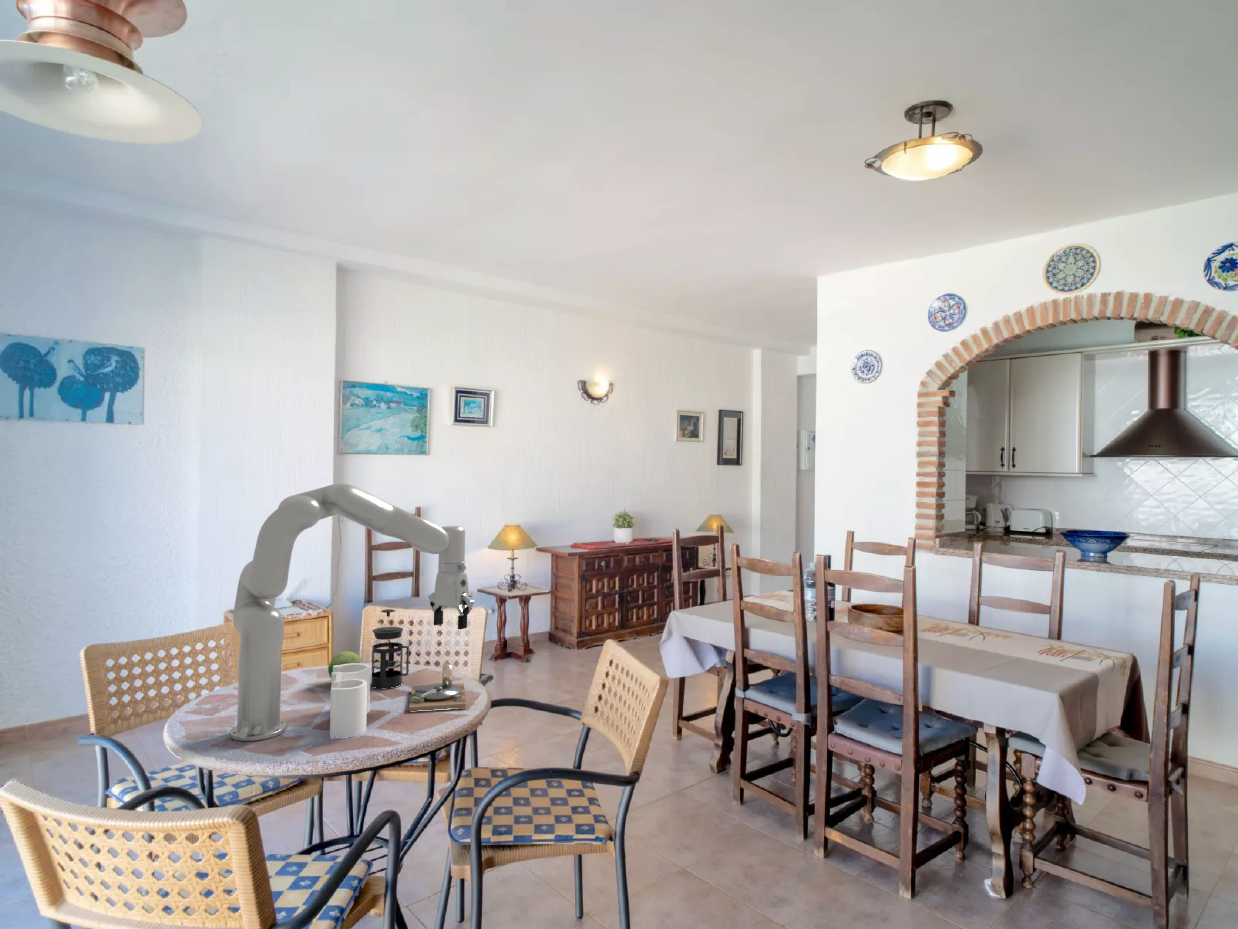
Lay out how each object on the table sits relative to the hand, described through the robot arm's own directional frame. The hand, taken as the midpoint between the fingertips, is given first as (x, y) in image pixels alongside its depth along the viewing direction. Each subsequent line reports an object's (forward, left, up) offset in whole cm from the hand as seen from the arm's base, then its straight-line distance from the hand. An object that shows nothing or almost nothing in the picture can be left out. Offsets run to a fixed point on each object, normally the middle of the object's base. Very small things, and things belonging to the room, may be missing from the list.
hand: (450, 626), depth 207 cm
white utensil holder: (-17, +25, -21) cm, 37 cm away
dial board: (-3, +3, -20) cm, 21 cm away
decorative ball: (+18, +31, -20) cm, 41 cm away
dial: (-3, +3, -19) cm, 19 cm away
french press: (+15, +18, -20) cm, 31 cm away
